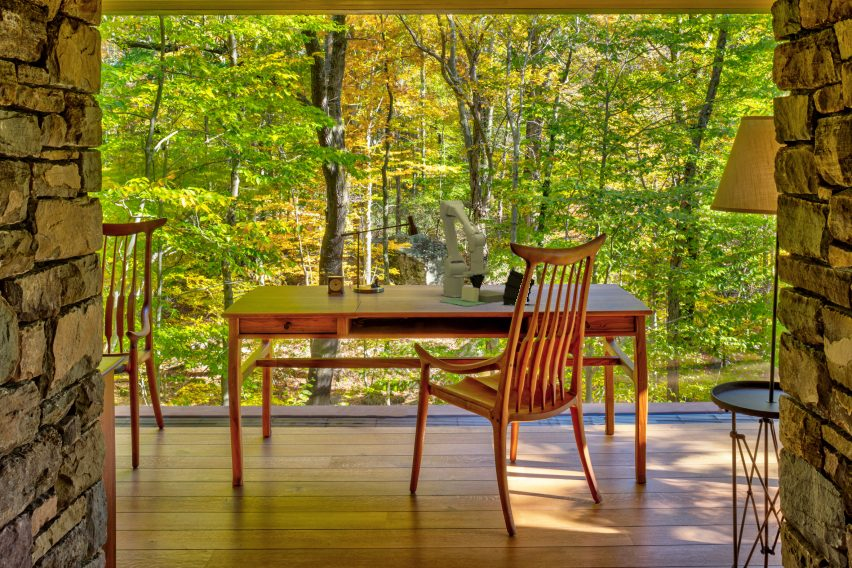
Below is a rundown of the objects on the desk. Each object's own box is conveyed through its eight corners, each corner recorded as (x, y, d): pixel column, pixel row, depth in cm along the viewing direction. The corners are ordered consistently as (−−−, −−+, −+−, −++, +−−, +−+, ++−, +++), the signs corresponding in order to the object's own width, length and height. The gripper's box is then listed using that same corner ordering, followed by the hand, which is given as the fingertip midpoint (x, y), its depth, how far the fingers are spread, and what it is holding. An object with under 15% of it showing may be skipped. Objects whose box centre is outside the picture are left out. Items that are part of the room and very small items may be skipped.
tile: (465, 299, 350) (461, 299, 348) (466, 286, 349) (462, 286, 348) (477, 301, 344) (473, 301, 342) (479, 288, 343) (474, 288, 342)
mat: (439, 301, 347) (439, 300, 347) (459, 299, 354) (459, 298, 354) (466, 306, 333) (466, 305, 333) (487, 303, 341) (487, 302, 341)
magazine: (495, 299, 341) (511, 268, 339) (523, 313, 341) (539, 282, 338) (495, 301, 338) (511, 269, 335) (523, 314, 337) (539, 283, 335)
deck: (462, 299, 354) (462, 292, 354) (485, 296, 363) (485, 289, 363) (487, 303, 342) (487, 296, 342) (510, 300, 351) (510, 293, 350)
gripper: (471, 263, 339) (470, 294, 341) (495, 260, 348) (494, 291, 350) (460, 261, 344) (460, 292, 346) (484, 259, 354) (483, 289, 355)
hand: (476, 291), depth 348 cm, fingers closed
